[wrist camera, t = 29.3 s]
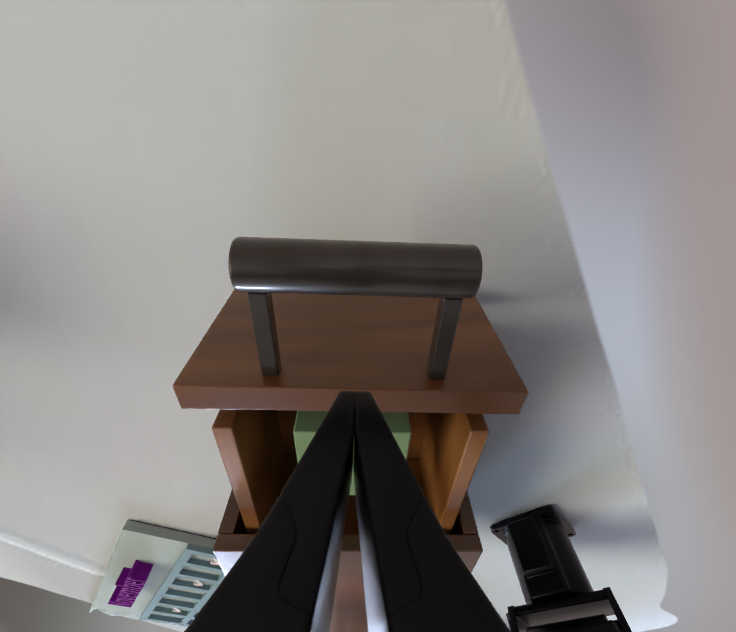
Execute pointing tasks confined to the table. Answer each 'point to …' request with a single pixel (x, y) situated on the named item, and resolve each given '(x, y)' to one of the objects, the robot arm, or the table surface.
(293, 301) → the drawer
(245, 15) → the table surface
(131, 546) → the calendar
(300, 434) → the block
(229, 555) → the cabinet
